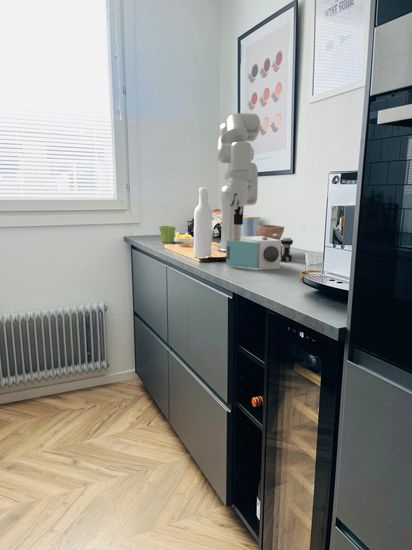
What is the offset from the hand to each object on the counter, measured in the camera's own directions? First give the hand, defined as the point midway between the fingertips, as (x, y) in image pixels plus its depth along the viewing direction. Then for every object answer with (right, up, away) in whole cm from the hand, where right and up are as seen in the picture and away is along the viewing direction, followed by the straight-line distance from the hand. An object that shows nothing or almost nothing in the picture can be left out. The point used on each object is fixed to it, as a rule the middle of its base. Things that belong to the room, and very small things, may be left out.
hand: (238, 224), depth 159 cm
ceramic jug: (+16, -12, +28) cm, 34 cm away
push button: (+21, -14, +17) cm, 30 cm away
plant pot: (-34, -2, +66) cm, 74 cm away
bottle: (-14, -12, +23) cm, 29 cm away
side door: (+1, -16, 0) cm, 16 cm away
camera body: (+9, -16, +6) cm, 19 cm away
